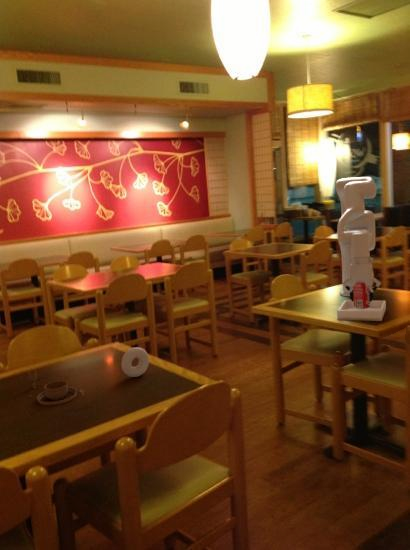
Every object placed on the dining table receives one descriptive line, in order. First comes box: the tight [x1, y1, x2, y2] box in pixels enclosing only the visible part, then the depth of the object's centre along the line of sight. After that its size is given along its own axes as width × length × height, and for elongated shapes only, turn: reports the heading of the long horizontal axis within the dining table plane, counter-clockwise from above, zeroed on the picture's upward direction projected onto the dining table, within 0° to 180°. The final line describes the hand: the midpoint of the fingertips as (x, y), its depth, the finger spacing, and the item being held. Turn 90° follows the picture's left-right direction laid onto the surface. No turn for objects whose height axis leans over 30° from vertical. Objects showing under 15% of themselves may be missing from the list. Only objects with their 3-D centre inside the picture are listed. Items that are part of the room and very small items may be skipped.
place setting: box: [28, 370, 86, 406], centre depth 167 cm, size 18×20×6 cm
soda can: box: [353, 282, 370, 309], centre depth 232 cm, size 7×7×12 cm
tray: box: [336, 299, 387, 322], centre depth 233 cm, size 20×18×4 cm
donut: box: [121, 346, 150, 378], centre depth 176 cm, size 10×4×10 cm, turn 127°
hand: (361, 300), depth 232 cm, fingers closed on soda can, 7 cm apart
